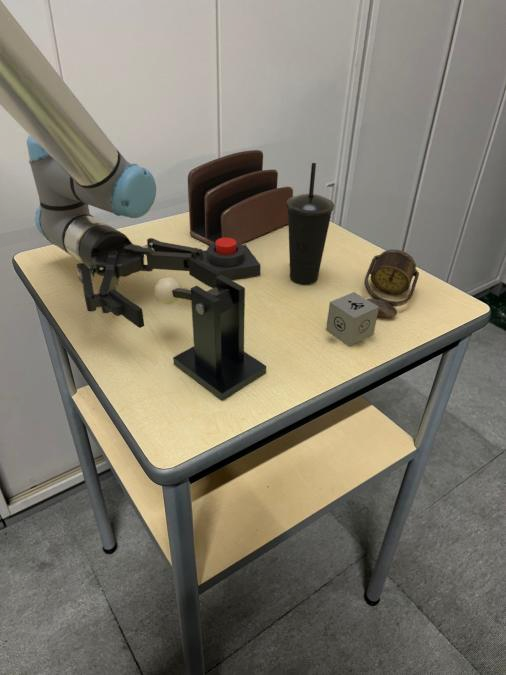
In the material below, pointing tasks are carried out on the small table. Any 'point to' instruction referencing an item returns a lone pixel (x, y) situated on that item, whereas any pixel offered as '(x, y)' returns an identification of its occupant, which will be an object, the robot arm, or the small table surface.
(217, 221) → the letter holder
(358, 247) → the small table surface
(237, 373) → the bracket
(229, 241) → the red button
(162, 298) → the lever
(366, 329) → the dice cube
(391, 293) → the brown antique clock
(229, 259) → the button box
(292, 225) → the drinking cup
